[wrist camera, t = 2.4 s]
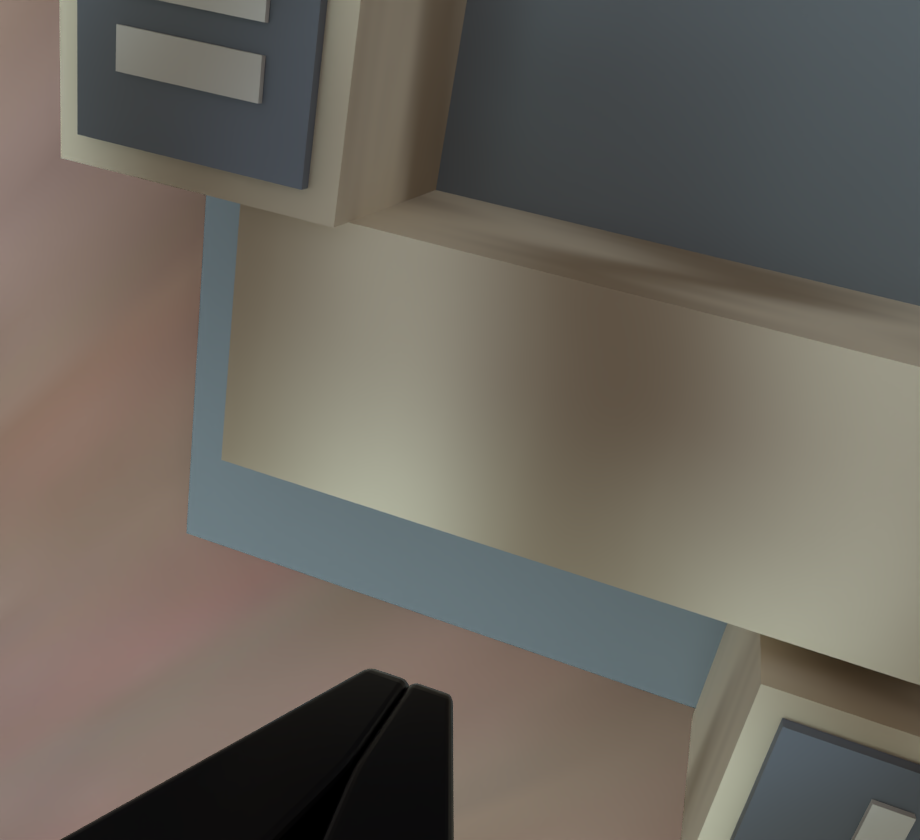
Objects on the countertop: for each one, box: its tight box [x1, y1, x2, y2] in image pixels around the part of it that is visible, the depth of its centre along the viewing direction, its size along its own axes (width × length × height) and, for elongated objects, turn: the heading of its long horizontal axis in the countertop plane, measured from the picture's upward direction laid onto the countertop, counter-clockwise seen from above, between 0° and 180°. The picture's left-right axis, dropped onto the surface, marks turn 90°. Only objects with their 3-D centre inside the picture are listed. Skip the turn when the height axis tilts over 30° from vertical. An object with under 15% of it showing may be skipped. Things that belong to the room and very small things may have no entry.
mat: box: [187, 0, 920, 708], centre depth 17 cm, size 17×14×1 cm
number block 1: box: [60, 0, 467, 228], centre depth 14 cm, size 4×4×5 cm
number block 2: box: [681, 623, 920, 840], centre depth 15 cm, size 4×4×5 cm
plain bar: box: [221, 190, 920, 685], centre depth 15 cm, size 12×4×4 cm, turn 80°
